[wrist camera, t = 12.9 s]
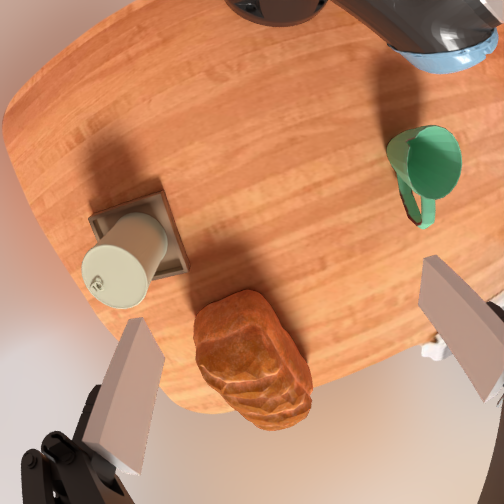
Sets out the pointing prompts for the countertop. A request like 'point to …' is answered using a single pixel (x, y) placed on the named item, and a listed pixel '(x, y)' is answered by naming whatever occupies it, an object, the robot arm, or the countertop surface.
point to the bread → (252, 361)
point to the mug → (425, 169)
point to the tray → (160, 211)
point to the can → (125, 261)
